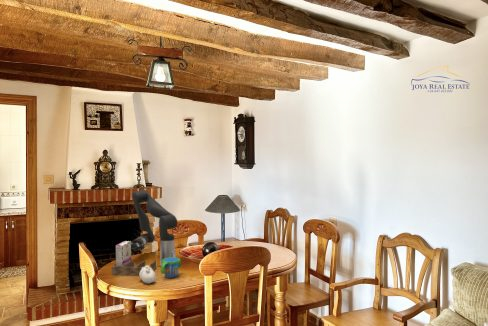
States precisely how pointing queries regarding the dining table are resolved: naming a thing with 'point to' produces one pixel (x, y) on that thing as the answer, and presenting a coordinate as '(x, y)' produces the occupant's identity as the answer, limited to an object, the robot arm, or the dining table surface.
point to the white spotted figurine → (147, 274)
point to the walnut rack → (131, 268)
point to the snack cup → (170, 267)
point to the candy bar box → (123, 253)
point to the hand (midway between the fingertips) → (129, 249)
